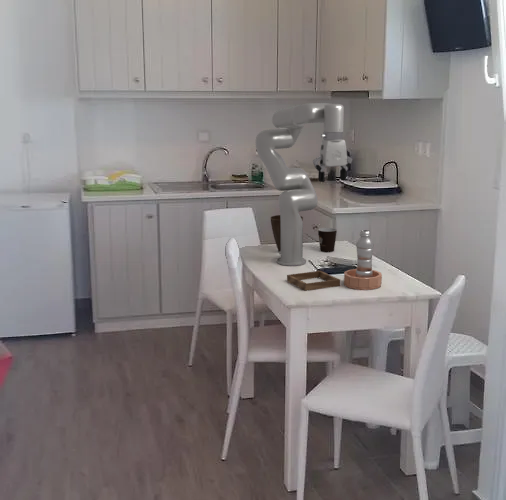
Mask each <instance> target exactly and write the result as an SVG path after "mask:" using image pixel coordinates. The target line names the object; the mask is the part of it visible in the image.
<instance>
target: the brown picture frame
mask: <svg viewBox="0 0 506 500" xmlns="http://www.w3.org/2000/svg"><path fill="white" fill-rule="evenodd" d="M318 278H319V279H321V280H320V281H315V282H305V281H303V280H312V279H318ZM286 282H288V283H290V284H292V285H293V286H296V287H297V288H300V289H301V290H303V291H305V292H307V290H308V291H313V290H315V291H316V290H321V289H329V288H335V287H341V279H339V278H338V277H336V276H333V275H331V274H328V273H327V272H325V271H322V270H316V271H307V272H301V273H292V274H286Z"/></svg>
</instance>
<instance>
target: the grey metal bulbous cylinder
mask: <svg viewBox="0 0 506 500" xmlns="http://www.w3.org/2000/svg"><path fill="white" fill-rule="evenodd" d="M359 236H360V237H359V239H358V240H357V241H356V246H355V247H356V257H357V258H356V259H357V260H356V261H357V263H356V269H357V270H356V274H355V277H359V278H370V277H373V272H372V270H373V263H372V262H373V253H374V248H375V247H374V245H375V244H374V241H373V239H372V238H371V231H370V230H367V229H362V230H360V231H359Z"/></svg>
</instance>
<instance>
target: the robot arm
mask: <svg viewBox="0 0 506 500" xmlns="http://www.w3.org/2000/svg"><path fill="white" fill-rule="evenodd" d="M344 111H345V107H344V105H343V104H340V103H329V102H311V103H310V102H309V103H302V104H298V105H296V104H295V106H291V107H285V108H281V109H278V110H276V111H275V112H274V113H273V114H272V116H271V122H272V124H273V126H274V127H275V129H274V128H271V129H266V130H262V131H260V132H259V133H257V135H256V137H255V149H256V153H257V155H258V157H259V158H260V160H261V162H262V164H264V166H265V168H266V170H267V171H266V172H267V174H268V175H269V177H270V179H271V182H272V184H273V186H274V188H275V189H276V190H277V191H280V192H281V191H282V192H281V193H280V194H279V196H278V199H277V201H278V209H279V215H280V218H281V251H280V252H279V251H278V254H279V255H280V257H278V258H277V259H276V263H277V264H279V265H281V266H287V267H289V266H290V267H292V266H293V267H294V266H302V265H305V264H306V263H307V259H306V258H304V257H303V249H304V248H303V247H304V244H303V243H304V235H303V233H304V223H303V222H304V221H302V219H301V217H300V216H301V215H300V212H304V211H305V212H306V211H311V210H314V209H315V208H316V207H317V206H318V203H319V199H318V194H317V192H316V190H315V187H314V185H313V184H312V181H311V179H310V177H309V174H308V173H307V171H305V169H303V168H301V167H289V166H288V165H287V163H286V161H285V159H284V157H283V156H282V155H281V154H280V153H278V152H277V151H276V150H281V149H282V150H283V149H290V148H292V147H293V146H294V145H295V144H296V142H297V140H298V139H299V136H300V135H301V133H302V130H303V129H304V127H305V125H306V124H319V123H320V124H321V123H322V124H323V132H322V133H320V138H322V141H321V144H320V148H319V149H320V150H319V156H318V157H316V158H314V159H313V160H312V163H313V165H314V168H315V169H316V171H317V172H318V177H317V178H318V182H320V183H324V182H325V179H326V178H325V176H326V175H325V174H326V172H325V169H326V168H333V167H340V168H341V169H340V172H339V173H340V175H339V180H340V181H344V182H345V181H346V180H347V174H348V173H347V172H348V170H349V168H350V167H351V164H352V162H353V158H352V157H351V156H349V155H348V152H347V151H348V150H347V143H346V140H345V139H344V122H345V121H344V113H345V112H344Z"/></svg>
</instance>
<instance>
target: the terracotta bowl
mask: <svg viewBox="0 0 506 500" xmlns="http://www.w3.org/2000/svg"><path fill="white" fill-rule="evenodd" d="M356 270H357V268H354V269H348V270H346V271H343V272H344V273H343V285H344V286H345V287H346V288H349V289H352V290H357V291H358V290H359V291H371V290H377V289H379V288H381V287H382V280H383V279H382V278H383V275H382V272H380V271H378V270H375V269H372V272H373V277H370V278H359V277H355V274H356Z"/></svg>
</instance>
